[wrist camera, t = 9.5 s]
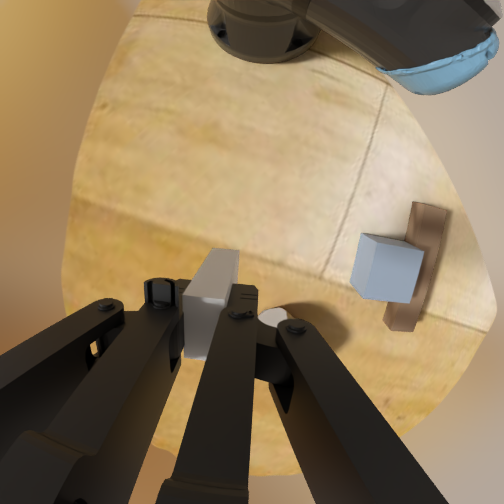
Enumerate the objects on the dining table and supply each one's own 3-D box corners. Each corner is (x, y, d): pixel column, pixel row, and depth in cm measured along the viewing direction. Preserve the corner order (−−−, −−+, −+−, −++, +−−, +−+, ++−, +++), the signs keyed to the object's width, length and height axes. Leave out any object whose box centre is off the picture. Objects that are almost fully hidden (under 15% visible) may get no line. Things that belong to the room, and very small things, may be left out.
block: (360, 232, 38) (376, 242, 32) (403, 241, 38) (424, 251, 32) (349, 281, 39) (362, 298, 34) (391, 287, 39) (409, 303, 34)
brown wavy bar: (412, 201, 36) (424, 204, 33) (434, 207, 36) (447, 210, 33) (382, 319, 41) (390, 330, 37) (403, 321, 41) (413, 332, 37)
